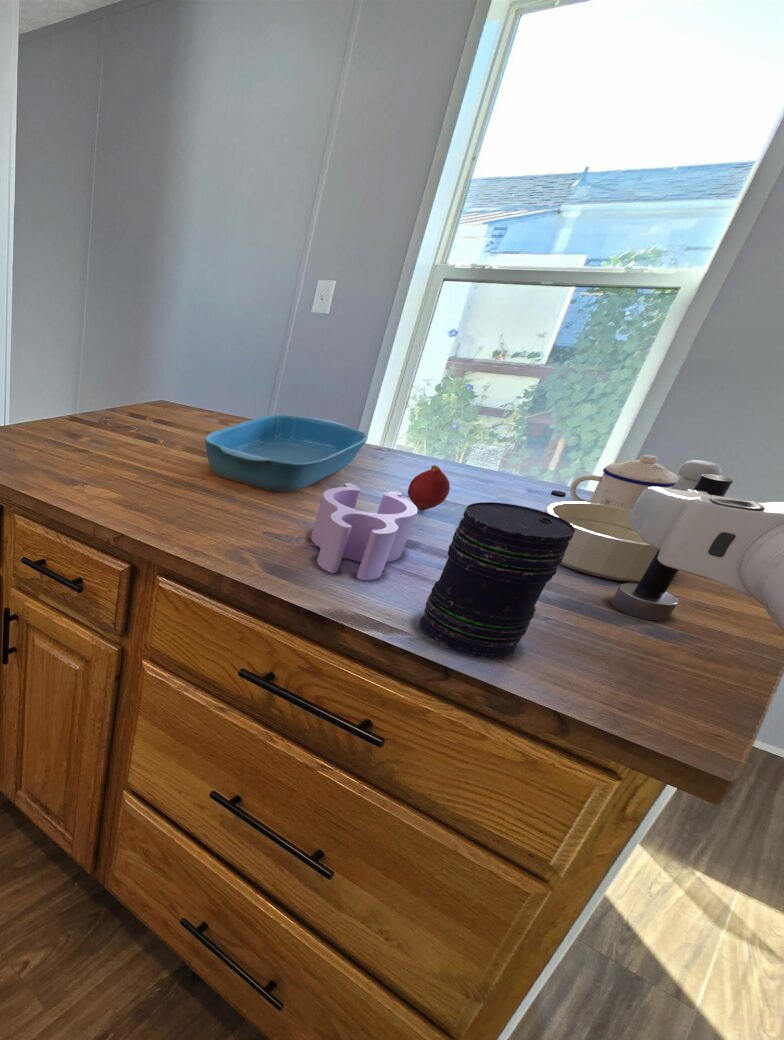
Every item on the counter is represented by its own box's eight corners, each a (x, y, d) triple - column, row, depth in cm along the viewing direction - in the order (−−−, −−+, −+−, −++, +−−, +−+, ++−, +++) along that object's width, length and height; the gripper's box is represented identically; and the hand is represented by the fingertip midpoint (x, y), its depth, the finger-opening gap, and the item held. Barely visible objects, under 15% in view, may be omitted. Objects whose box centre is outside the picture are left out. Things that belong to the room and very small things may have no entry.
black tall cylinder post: (662, 606, 84) (743, 475, 76) (673, 625, 80) (759, 489, 72) (607, 594, 87) (678, 466, 78) (614, 612, 83) (691, 479, 74)
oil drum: (446, 657, 73) (513, 507, 64) (401, 612, 82) (455, 474, 73) (537, 661, 73) (617, 510, 64) (483, 615, 82) (547, 477, 73)
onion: (423, 503, 116) (439, 459, 112) (448, 515, 111) (466, 470, 107) (394, 504, 115) (409, 460, 111) (418, 517, 110) (435, 471, 106)
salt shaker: (671, 554, 98) (720, 470, 92) (626, 539, 103) (670, 459, 97) (691, 547, 101) (740, 466, 94) (646, 533, 105) (690, 455, 99)
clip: (397, 588, 88) (414, 541, 84) (298, 565, 93) (311, 520, 90) (403, 537, 103) (419, 495, 99) (318, 519, 108) (329, 479, 105)
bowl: (658, 553, 99) (680, 516, 96) (687, 597, 87) (713, 557, 84) (525, 529, 106) (542, 494, 103) (535, 566, 94) (553, 528, 91)
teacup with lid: (647, 523, 109) (685, 455, 103) (653, 540, 103) (694, 469, 97) (557, 506, 115) (588, 441, 110) (558, 522, 109) (591, 453, 103)
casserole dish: (289, 507, 113) (299, 467, 109) (178, 474, 127) (185, 438, 124) (374, 465, 134) (385, 430, 131) (271, 441, 149) (279, 409, 145)
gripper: (1033, 553, 49) (932, 499, 59) (673, 496, 58) (640, 458, 69) (969, 624, 52) (884, 561, 63) (637, 560, 62) (610, 514, 72)
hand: (754, 507), depth 66 cm, fingers open, 8 cm apart
